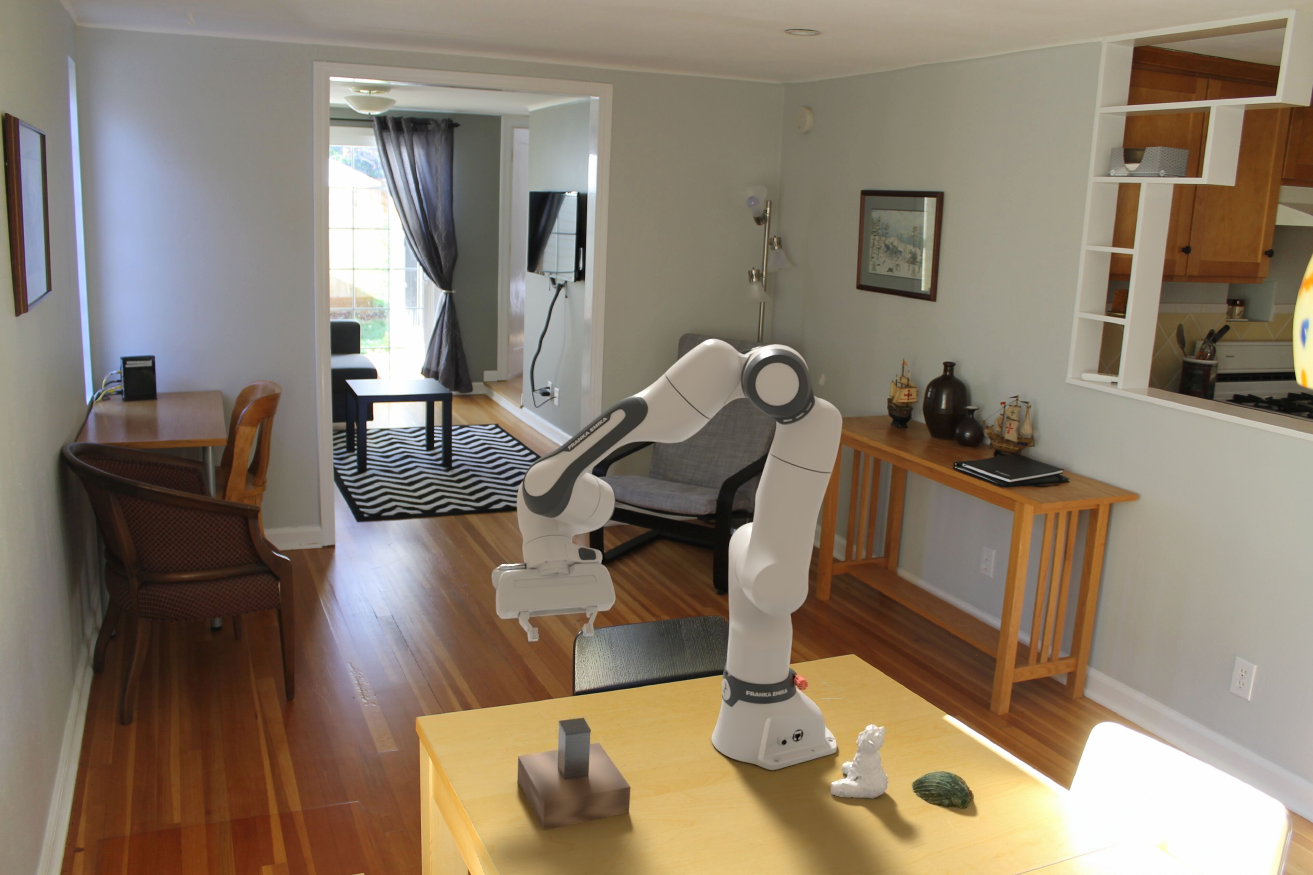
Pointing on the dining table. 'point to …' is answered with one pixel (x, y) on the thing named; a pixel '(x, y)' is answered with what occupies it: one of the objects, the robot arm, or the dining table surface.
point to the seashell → (943, 789)
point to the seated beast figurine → (864, 768)
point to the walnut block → (572, 789)
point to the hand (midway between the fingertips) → (561, 637)
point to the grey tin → (573, 748)
